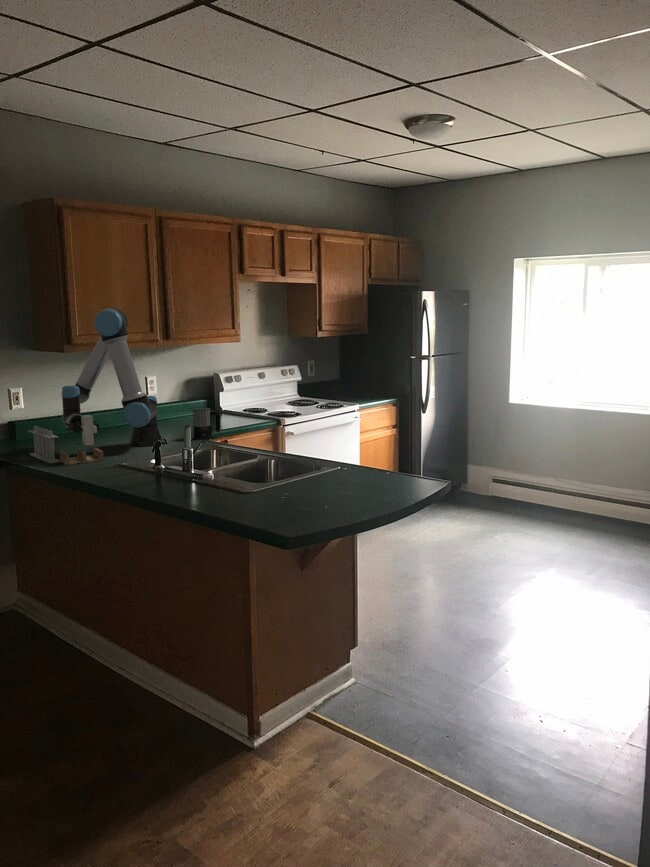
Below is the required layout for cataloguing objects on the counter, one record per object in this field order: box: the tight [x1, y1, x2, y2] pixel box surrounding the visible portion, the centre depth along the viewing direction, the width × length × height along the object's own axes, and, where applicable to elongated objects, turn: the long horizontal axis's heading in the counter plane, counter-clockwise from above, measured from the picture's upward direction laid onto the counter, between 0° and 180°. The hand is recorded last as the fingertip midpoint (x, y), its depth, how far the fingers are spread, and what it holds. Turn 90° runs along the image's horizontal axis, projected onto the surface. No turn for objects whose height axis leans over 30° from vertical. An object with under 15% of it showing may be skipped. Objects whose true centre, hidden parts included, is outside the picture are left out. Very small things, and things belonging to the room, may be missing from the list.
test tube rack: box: [27, 425, 62, 464], centre depth 309 cm, size 25×4×13 cm, turn 41°
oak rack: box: [59, 447, 105, 466], centre depth 304 cm, size 16×10×4 cm, turn 122°
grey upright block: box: [81, 414, 95, 446], centre depth 304 cm, size 4×5×12 cm
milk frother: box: [191, 407, 221, 440], centre depth 363 cm, size 14×16×15 cm
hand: (90, 430), depth 300 cm, fingers closed on grey upright block, 3 cm apart
